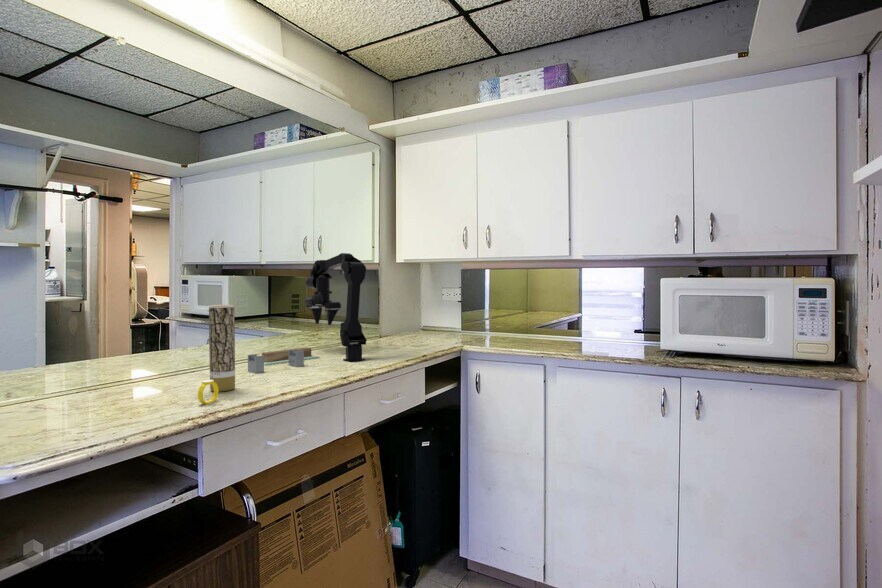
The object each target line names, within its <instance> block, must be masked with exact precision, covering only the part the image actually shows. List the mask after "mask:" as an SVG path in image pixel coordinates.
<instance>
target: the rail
mask: <svg viewBox="0 0 882 588" xmlns="http://www.w3.org/2000/svg"><path fill="white" fill-rule="evenodd" d="M293 349H294V348H290V349H282V350H281V349H280V350H274V351H266V352H265V351H264V352H261V356H264V362H266V363H268V362H275V361H282V360H289V358H288V350H293ZM296 349H297V351H304V357H311V355H312V348H311V347H307V346H306V347H297V348H296Z"/></svg>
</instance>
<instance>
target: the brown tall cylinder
mask: <svg viewBox="0 0 882 588" xmlns="http://www.w3.org/2000/svg"><path fill="white" fill-rule="evenodd" d="M235 326H236V325H235V306H234V304H212V305H208V333H209V334H208V339H209V350H208V351H209V354H208V355H209V380H214V382H215V383H216V384H217V386H218V390H219V392H222V391H223V392H228V391H233V390H234V389H235V388H236V350H235V349H236V344H235V343H236V340H235V339H236V337H235V332H236V331H235ZM209 389H210V391H212V392H214V387H213V385H212V384H209Z"/></svg>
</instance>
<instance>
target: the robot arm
mask: <svg viewBox="0 0 882 588" xmlns="http://www.w3.org/2000/svg"><path fill="white" fill-rule="evenodd" d="M339 267H340V269H341V270H342V271H343V274H344V279H345V280H346V283H347V293H346V294H347V296H346V309H345V310H346V314H345V316H346V317H345V320H344V321H341V322H340V329H339V333H340V334H339V337H340V343H341V345H342V346H343V347H345V358H343V359H342V360H343V361H345V362H351V361H352V363H353V362H354V361H355V362H360V361H365V360H366V358H363V346H365V345H366V344H367V338H366V336H365V335H364V333H363V329H362V328H363V327H362V324H361V323H360V320H359V313H360V298H361V285H362V283H363V282H364V281H365V279H366V274H367V266H366V265H365V264H364V263H363V262H362V261H361V260H359V259H358V258H357V257H355V256H354V255H353V254H352V253H346V252H345V253H344V252H342V253H339V254H338V255H335V256H333V257H331V258H327V259H318V260H317V259H316V260H315V261H314V263H313V265H312V268H311V270H310V272H309V276H308V277H307V279H306V281H305V285H306V287H307V288H309V289H315V290H316V291H315V290H314V292H313V295H310V296H308V297H306V298H304V299H303V301H304V304H305V308H307V309H308V310H309V311H310V312H311V314H312V316H313V318H314V319H313V320H314V321H315V324H316V325H318V324H319V323H320V320H321V315H322V311H324V312H326V317H327V325H328V326H331V325H332V323H333V321H334V319H335V317H336V315H337V313H338V311H340V309H341V308H342V303H341V302H340V301H333V300H331V294H333V292H332V290H331V283H330V282H331V280H332V278H333V277H332V276H331V273H333V272H334V269H336V268H339ZM330 290H331V291H330ZM323 307H324V308H325V309H324V310H323Z"/></svg>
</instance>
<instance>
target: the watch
mask: <svg viewBox="0 0 882 588" xmlns="http://www.w3.org/2000/svg"><path fill="white" fill-rule="evenodd" d="M201 383H202V384H201V385H200V386H199V387H198V390H197V398H198V402H199V403H201V404H202V405H208V403H209V404H210V402H211V403H214V402H215V401H216V400H217V398H218V396H219V390H218V386H217V384H216V383H215V382H214V380H210V379H205V380H204V379H203V380H202V381H201ZM210 384H212V385H213V387H214V391H213V394H212V396H211V398H210V399H209V400H207V401H205V398H204V397H203V396H204V390H205V388H206V387H207V386H208V385H209V386H210ZM213 401H214V402H213Z"/></svg>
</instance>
